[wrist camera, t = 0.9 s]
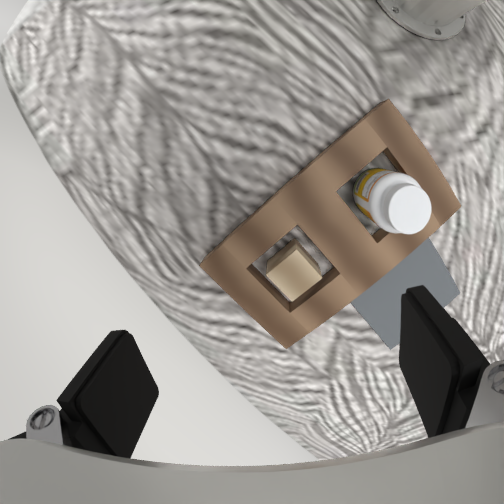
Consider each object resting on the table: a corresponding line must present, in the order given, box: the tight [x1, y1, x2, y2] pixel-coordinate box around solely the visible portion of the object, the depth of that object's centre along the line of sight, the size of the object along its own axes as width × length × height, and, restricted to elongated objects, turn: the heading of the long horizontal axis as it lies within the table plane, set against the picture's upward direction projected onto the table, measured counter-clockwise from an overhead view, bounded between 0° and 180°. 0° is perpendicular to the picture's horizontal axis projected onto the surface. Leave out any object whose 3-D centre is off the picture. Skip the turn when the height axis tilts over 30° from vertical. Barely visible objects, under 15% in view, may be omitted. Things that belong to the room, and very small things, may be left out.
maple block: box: [266, 238, 322, 301], centre depth 33 cm, size 4×4×4 cm
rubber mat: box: [351, 237, 460, 350], centre depth 34 cm, size 12×10×1 cm
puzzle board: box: [199, 99, 461, 349], centre depth 32 cm, size 26×14×2 cm, turn 133°
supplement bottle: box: [353, 168, 431, 234], centre depth 26 cm, size 5×5×10 cm
